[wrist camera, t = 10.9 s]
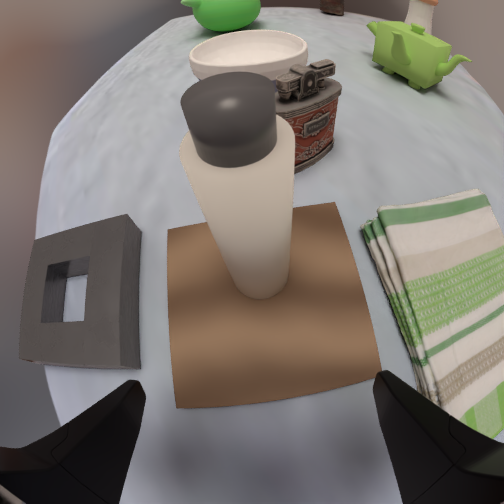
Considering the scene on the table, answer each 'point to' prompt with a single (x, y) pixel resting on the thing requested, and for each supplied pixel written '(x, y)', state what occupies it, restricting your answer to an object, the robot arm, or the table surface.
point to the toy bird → (224, 13)
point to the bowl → (249, 54)
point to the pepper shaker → (421, 13)
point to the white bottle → (242, 176)
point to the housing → (97, 297)
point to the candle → (332, 6)
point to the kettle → (412, 53)
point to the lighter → (309, 109)
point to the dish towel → (448, 300)
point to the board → (268, 319)
